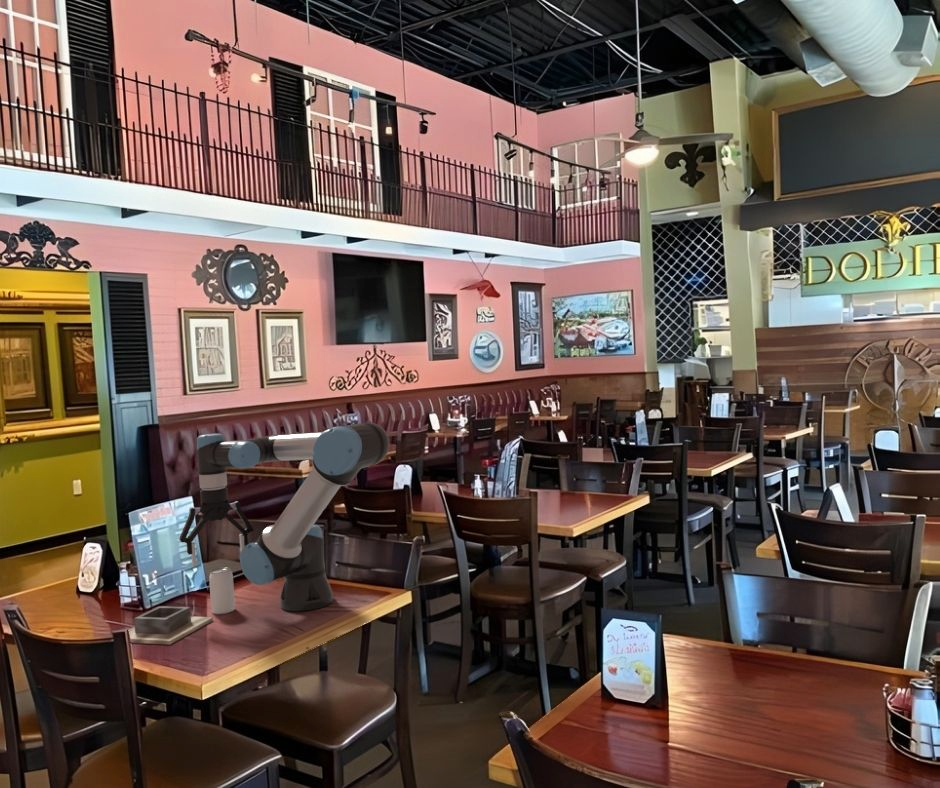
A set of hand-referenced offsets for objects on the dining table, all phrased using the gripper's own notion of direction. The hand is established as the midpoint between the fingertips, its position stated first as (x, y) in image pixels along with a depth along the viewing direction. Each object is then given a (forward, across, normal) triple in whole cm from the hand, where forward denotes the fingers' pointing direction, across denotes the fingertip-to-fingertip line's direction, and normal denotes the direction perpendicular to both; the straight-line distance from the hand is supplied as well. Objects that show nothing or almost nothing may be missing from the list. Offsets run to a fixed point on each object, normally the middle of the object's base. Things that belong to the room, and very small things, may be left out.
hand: (219, 561), depth 221 cm
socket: (+15, +17, +7) cm, 23 cm away
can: (+15, 0, 0) cm, 15 cm away
